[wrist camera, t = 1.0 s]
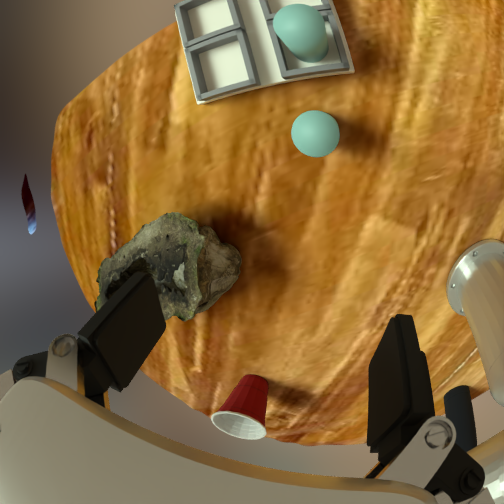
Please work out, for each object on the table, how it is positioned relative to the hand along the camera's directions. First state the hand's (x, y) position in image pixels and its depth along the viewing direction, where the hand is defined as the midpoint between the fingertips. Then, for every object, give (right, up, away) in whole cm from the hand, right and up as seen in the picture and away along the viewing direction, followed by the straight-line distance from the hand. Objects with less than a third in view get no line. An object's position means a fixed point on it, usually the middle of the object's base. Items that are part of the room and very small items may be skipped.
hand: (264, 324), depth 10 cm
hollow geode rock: (-14, +1, +33) cm, 36 cm away
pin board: (0, +27, +13) cm, 30 cm away
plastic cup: (0, -24, +43) cm, 49 cm away
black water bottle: (+44, -28, +29) cm, 60 cm away
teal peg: (+7, +16, +17) cm, 24 cm away
